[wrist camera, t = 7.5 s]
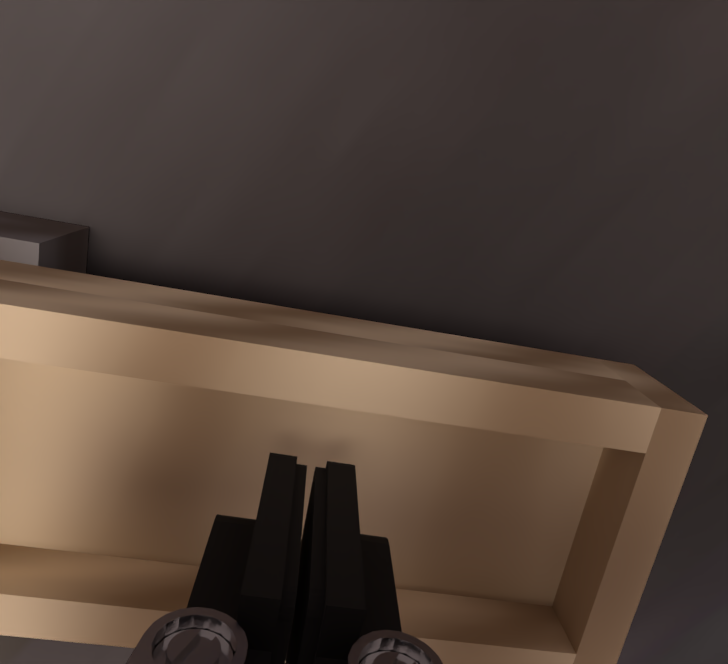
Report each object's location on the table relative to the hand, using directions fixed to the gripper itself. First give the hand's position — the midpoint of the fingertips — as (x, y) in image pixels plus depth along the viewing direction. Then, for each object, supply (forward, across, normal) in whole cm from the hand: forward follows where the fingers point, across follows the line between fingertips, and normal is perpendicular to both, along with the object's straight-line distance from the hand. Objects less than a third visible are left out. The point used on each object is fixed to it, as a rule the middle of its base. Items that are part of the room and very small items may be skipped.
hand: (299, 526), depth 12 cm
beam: (+6, +8, 0) cm, 11 cm away
